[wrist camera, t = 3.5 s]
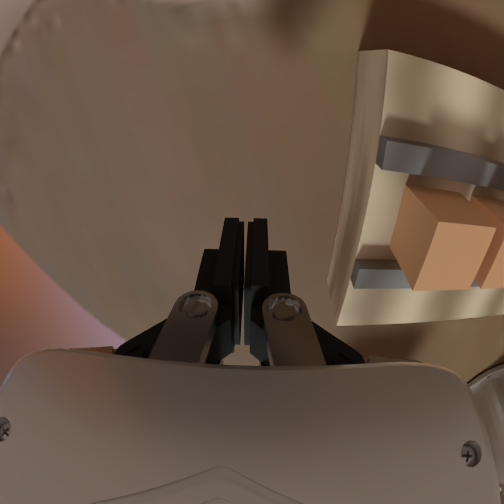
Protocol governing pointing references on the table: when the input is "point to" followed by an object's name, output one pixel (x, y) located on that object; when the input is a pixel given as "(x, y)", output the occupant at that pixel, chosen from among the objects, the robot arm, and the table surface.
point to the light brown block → (492, 243)
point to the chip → (439, 239)
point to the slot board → (411, 182)
